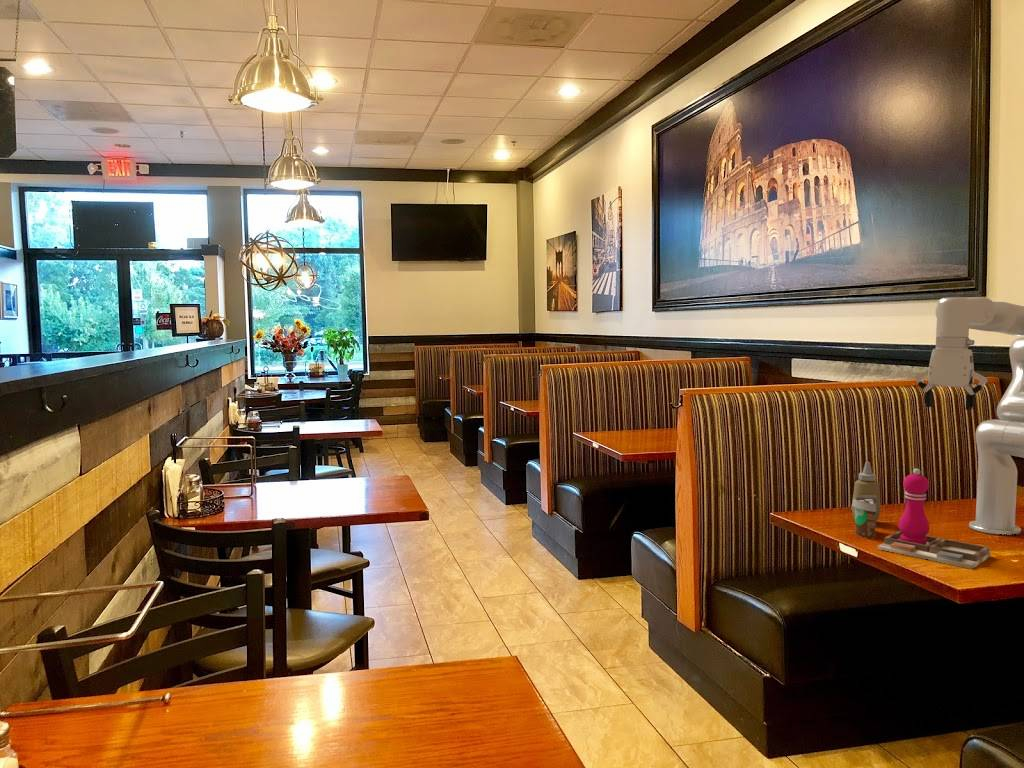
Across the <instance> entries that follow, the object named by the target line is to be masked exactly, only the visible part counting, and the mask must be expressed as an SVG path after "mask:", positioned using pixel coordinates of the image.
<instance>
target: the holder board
mask: <svg viewBox="0 0 1024 768" xmlns="http://www.w3.org/2000/svg"><path fill="white" fill-rule="evenodd" d="M901 534H903V533H902V532H901V531H900V530H897V531H896V532H893V533H892V534H889V535H888V536H885V537H883V538H884V539H883V543H881V544H879V545H877V549H880V550H879V551H881V550H884V551H883V552H886V551H889V552H888V553H891V552H895V553H894V554H896V553H900V554H899V555H901V554H905V555H909V556H908V557H910V556H914V557H913V558H915V557H918V558H917V559H920V558H922V559H921V560H925V559H928V560H927V561H930V560H932V561H931V562H935V561H937V562H936V563H939V562H941V563H940V564H944V563H945V564H946V565H951V566H955V567H960V568H964V569H965V568H966V569H968V570H973V569H975V568H976V567H977V566H979V565H980V564H981V563H983V562H984V561H986V560H987V559H989V558H990V557H991V556H992V552H990V547H989V546H985V545H979V544H974V543H968V542H965V541H964V542H963V541H958V540H953V539H948V538H942V537H936V536H931V535H927V534H926V535H925V536H924V537H926V538H927V544H926V545H923V544H918V543H913V542H907V541H902V540H900V535H901ZM905 555H904V556H905Z"/></svg>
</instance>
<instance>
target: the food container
mask: <svg viewBox="0 0 1024 768" xmlns="http://www.w3.org/2000/svg"><path fill="white" fill-rule="evenodd" d="M852 500H853V499H852ZM876 504H877V496H870V495H865V496H857V497H855V499H854V500H853V503H851V507H852V506H853V507H855V519H854V522H855V523H854V524H855V525H854V526H855V534H857V535H856V536H858V535H859V536H858V537H861V536H862V537H861V538H864V537H867V538H866V539H869V538H875V539H876V530H877V529H876V525H877V522H876Z"/></svg>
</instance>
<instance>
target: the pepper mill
mask: <svg viewBox="0 0 1024 768" xmlns="http://www.w3.org/2000/svg"><path fill="white" fill-rule="evenodd" d="M903 479H904V480H903V482H902V483H903V484H902V485H903V488H904V489H905V491H904V494H905V495H904V498H905V499H906V505H905V509H904V512H903V513H902V515H901V517H900V519H899V521H898V529H899V531H901V532H902V533H903V534H901V535H900V540H902V541H907V542H913V543H918V544H923V545H926V544H927V538H926V537H924V536H925V535H926V536H927V534H929V533H930V530H931V529H930V523H929V519H928V518H927V516H926V513H925V504H924V503H925V500H927V494H926V492H927V491H928V490H929V488H930V483H929V480H928V478H927V477H926V476H924V475H922V474H921V470H920V469H919V468H914V469H913V470H912V473H911V474H908V475H907V476H905V477H904V478H903Z"/></svg>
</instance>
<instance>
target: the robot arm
mask: <svg viewBox="0 0 1024 768" xmlns="http://www.w3.org/2000/svg"><path fill="white" fill-rule="evenodd" d="M935 317H936V327H935V328H936V329H935V348H933V349H932V352H931V354H930V355H931V356H930V359H929V365H928V369H927V370H925V371H923V372H921V373H918V374H915V375H914V378H915V381H916V383H917V384H918V386H919V388H920V389H921V390H922V392H924V404H925V407H926V408H931V407H933V405H934V391H933V390H934V388H936V387H948V388H950V387H951V388H964V390H965V391H966V392H967V395H966V396H965V397H966V398H965V410H966V411H973V408H974V407H975V404H976V395H977V394H978V393H979V392H980V391H981V390H983V388H984V387H985V386H986V384H987V383H988V380H989V379H988V378H987V377H985V376H983V375H982V374H979V373H977V372H975V368H974V367H975V366H974V357H973V351H972V349H969V348H970V346H974V345H975V340H974V339H970V337H969V332H970V330H975V331H976V330H977V331H983V332H992V333H1000V334H1005V335H1010V336H1015V337H1016V336H1017V337H1019V338H1016V339H1014V340H1013V341H1012V342H1011V344H1010V346H1009V351H1008V352H1009V353H1008V354H1009V359H1010V366H1011V371H1012V378H1011V382H1010V383H1009V385H1008V387H1007V389H1006V390H1005V392H1004V394H1003V395H1002V397H1001V399H1000V401H999V403H998V405H997V407H996V416H997V418H998V419H987V420H983V421H982V422H980V424H979V425H977V427H976V431H975V443H976V449H977V456H978V457H977V458H978V459H977V460H978V461H977V462H978V463H977V465H978V467H977V482H976V483H977V485H976V502H975V503H976V505H975V520H970V521H969V522H968V523H969V524H968V527H969V528H970V529H971V530H974V531H977V532H981V533H987V534H991V535H999V534H1002V536H1015V535H1014V534H1016V535H1020V534H1021V532H1022V528H1021V527H1020V526H1018V525H1015V524H1016V508H1017V507H1016V504H1017V490H1018V489H1017V487H1018V468H1017V465H1016V463H1015V461H1014V459H1013V458H1012V456H1015V457H1022V458H1024V305H1019V304H1015V303H1009V302H1005V301H993V300H992V299H990V298H988V297H986V296H985V297H984V296H971V297H970V296H969V297H967V296H965V297H962V296H957V297H956V296H954V297H953V296H949V297H941V298H940V299H939V300H938V301H937V305H936V306H935ZM925 377H927V382H928V383H925V381H924V378H925ZM975 380H978V384H977V385H975V386H973V385H974V382H975ZM1004 534H1005V535H1004ZM1006 534H1007V535H1006ZM1012 534H1013V535H1012Z"/></svg>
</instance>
